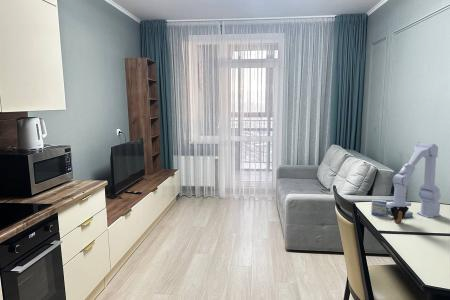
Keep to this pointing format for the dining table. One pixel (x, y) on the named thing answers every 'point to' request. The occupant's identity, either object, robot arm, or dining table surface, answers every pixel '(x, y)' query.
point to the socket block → (408, 213)
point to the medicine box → (378, 207)
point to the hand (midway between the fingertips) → (398, 219)
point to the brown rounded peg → (399, 218)
